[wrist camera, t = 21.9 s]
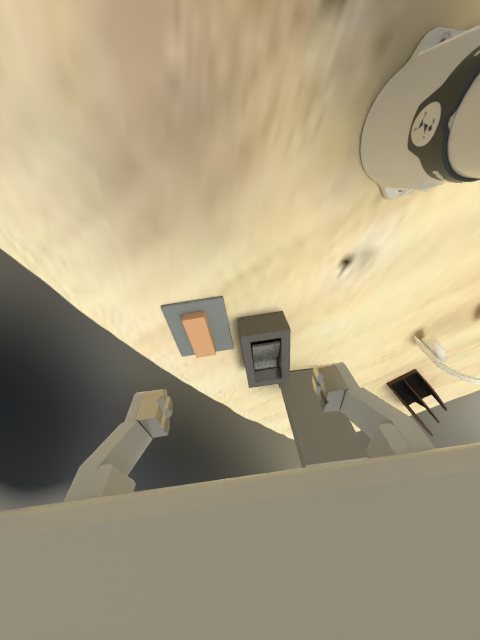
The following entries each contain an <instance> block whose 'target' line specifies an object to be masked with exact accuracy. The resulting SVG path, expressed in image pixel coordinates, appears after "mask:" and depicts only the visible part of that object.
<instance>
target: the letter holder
mask: <svg viewBox="0 0 480 640" xmlns="http://www.w3.org/2000/svg"><path fill="white" fill-rule="evenodd" d="M387 385H388V386H389V387H390V388H391V390H392V391H393V392H394V393H395V395H396V396H397V397H398V398H399V400H400V401H401V402H402V403H403V404H404V406H405V407H406V408H407V409H408V410H409V411H410V413H411V414H412V415H413V416H414V418H415V419H416V420H417V421H418V422H419V423H420V424H421V425H422V426H423V427H424V429H425V430H426V431H427V432H428V433H429V434H430V435H431V436H433V434H432V433H431V432H430V431H429V429H428V428H427V427H426V426H425V425H424V423H423V422H422V421H421V420H420V419H419V417H418V416H417V415H416V414H415V413H414V411H413V410H412V409H411V408H410V407H409V405H410V404H411V403H414V402H416V403H418V404H420V405H422V406H423V407H425V408H426V409H427V410H428V412H429V413H430V414H431V415H432V416H433V417H434V419H435V420H436V421H437V422H438V423H440V422H439V420H438V419H437V418H436V416H435V415H434V414H433V412H432V411H431V410H430V409H429V407H428V406H427V405H426V404H425V402H424V401H423V400H422V399H423V398H425V397H427V396H429V395H432V396H433V397H434V398H435V399H436V400H437V401H438V402H439V404H440V405H441V406H442V407H443V408H444V410H446V411H447V408H446V407H445V405H444V404H443V402H442V401H441V399H440V398H439V396H438V395H437V393H436V392H435V391H434V389H433V388H432V387H431V386H430V385H429V384H428V383H427V381H426V380H425V379H424V378H423V377H422V376H421V375H420V374H419V372H418V371H417V370H416V369H414V370H412V371H410V372H408V373H406V374H404V375H402V376H400V377H398V378H396V379H394V380H392V381H390V382H388V383H387Z"/></svg>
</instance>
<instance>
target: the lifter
mask: <svg viewBox="0 0 480 640" xmlns="http://www.w3.org/2000/svg"><path fill="white" fill-rule="evenodd" d="M279 349H280V341H276V342H270V343H263V344H257V345H252V351H253V361H254V368H255V370H259V369H266V368H273V367H278V365H277V360H278V354H279ZM271 363H272V364H271ZM264 364H265V365H264Z"/></svg>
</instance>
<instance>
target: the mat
mask: <svg viewBox="0 0 480 640" xmlns="http://www.w3.org/2000/svg"><path fill="white" fill-rule="evenodd" d="M161 309H162V311H163V314H164V316H165V318H166V321H167V323H168V325H169V328H170V330H171V332H172V335H173V337H174V339H175V342H176V344H177V346H178V348H179V351H180V353H181V355H182V357H183V356H189V355H195V352H194V350H193V347H192V345H191V342H190V340H189V337H188V335H187V332H186V330H185V327H184V325H183V322H182V318H183V314H188V313H194V312H200V311H205V313H206V317H207V320H208V323H209V326H210V330H211V333H212V336H213V339H214V343H215V346H216V351H222V350H229V349H234V348H233V342H232V338H231V333H230V328H229V323H228V318H227V314H226V309H225V304H224V299H223V296H220V297H213V298H207V299H201V300H194V301H188V302H181V303H175V304H168V305H162V306H161Z"/></svg>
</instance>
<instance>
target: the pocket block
mask: <svg viewBox="0 0 480 640" xmlns="http://www.w3.org/2000/svg"><path fill="white" fill-rule="evenodd" d="M238 323H239V331H240V339H241V345H242V350H243V356H244V362H245V367H246V373H247V379H248V385H249V388H252V387H258V386H265V385H272V384H279V383H285V382H289V377H290V327H289V325H288V323H287V320H286V318H285V316H284V313H283V311H280V312H274V313H267V314H261V315H254V316H248V317H241V318H238ZM269 339H275V340H276V341H280V349H279V354H278V360H277V365H278V367H273V368H266V369H259V370H255V368H254V362H253V359H252V352H251V344H250V342H256V341H262V340H269ZM271 364H272V363H271ZM264 365H265V364H264Z"/></svg>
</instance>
